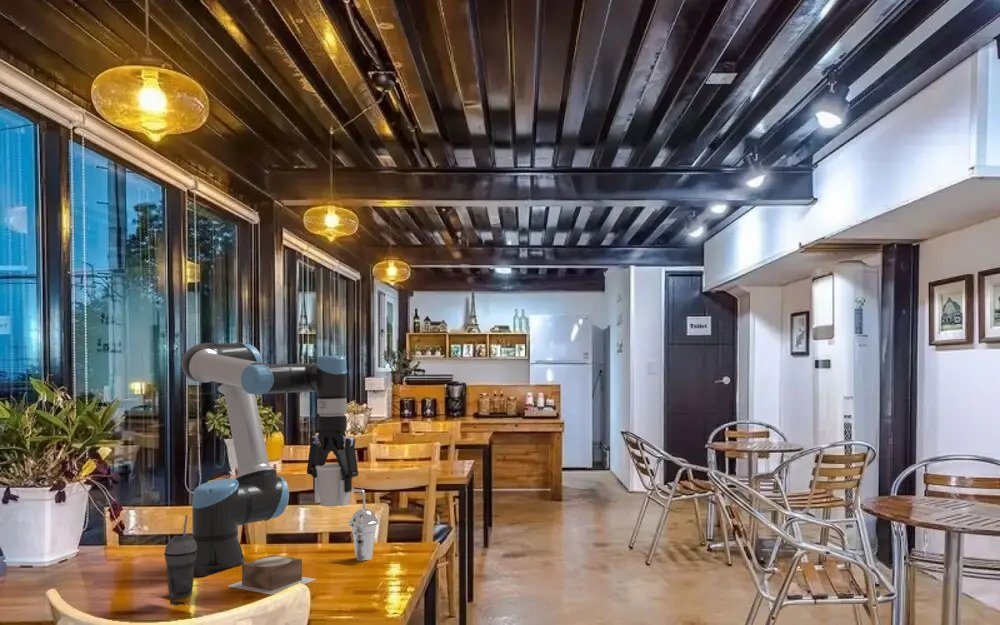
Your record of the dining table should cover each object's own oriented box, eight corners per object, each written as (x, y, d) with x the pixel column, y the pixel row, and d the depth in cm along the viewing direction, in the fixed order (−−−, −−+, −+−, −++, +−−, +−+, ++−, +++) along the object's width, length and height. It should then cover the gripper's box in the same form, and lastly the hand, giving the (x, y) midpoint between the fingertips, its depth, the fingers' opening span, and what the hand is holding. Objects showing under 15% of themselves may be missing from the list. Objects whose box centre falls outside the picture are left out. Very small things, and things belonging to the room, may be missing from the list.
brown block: (242, 585, 181) (242, 564, 181) (273, 574, 190) (273, 554, 190) (271, 590, 176) (271, 569, 176) (301, 579, 185) (301, 558, 185)
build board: (226, 592, 181) (226, 586, 181) (270, 577, 193) (270, 571, 193) (274, 601, 173) (274, 595, 173) (316, 585, 185) (316, 579, 185)
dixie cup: (344, 507, 187) (344, 467, 188) (311, 508, 187) (311, 468, 188) (351, 501, 196) (351, 463, 196) (320, 501, 196) (320, 463, 196)
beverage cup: (170, 597, 177) (170, 512, 179) (201, 596, 178) (202, 511, 179) (158, 607, 170) (159, 519, 171) (191, 606, 171) (192, 518, 172)
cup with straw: (370, 563, 204) (369, 490, 206) (341, 561, 207) (341, 489, 208) (384, 555, 212) (384, 485, 214) (356, 553, 215) (356, 484, 216)
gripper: (292, 415, 195) (291, 502, 193) (353, 416, 185) (353, 509, 183) (312, 413, 201) (312, 498, 200) (372, 414, 191) (373, 504, 190)
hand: (332, 503), depth 192 cm, fingers closed on dixie cup, 8 cm apart
